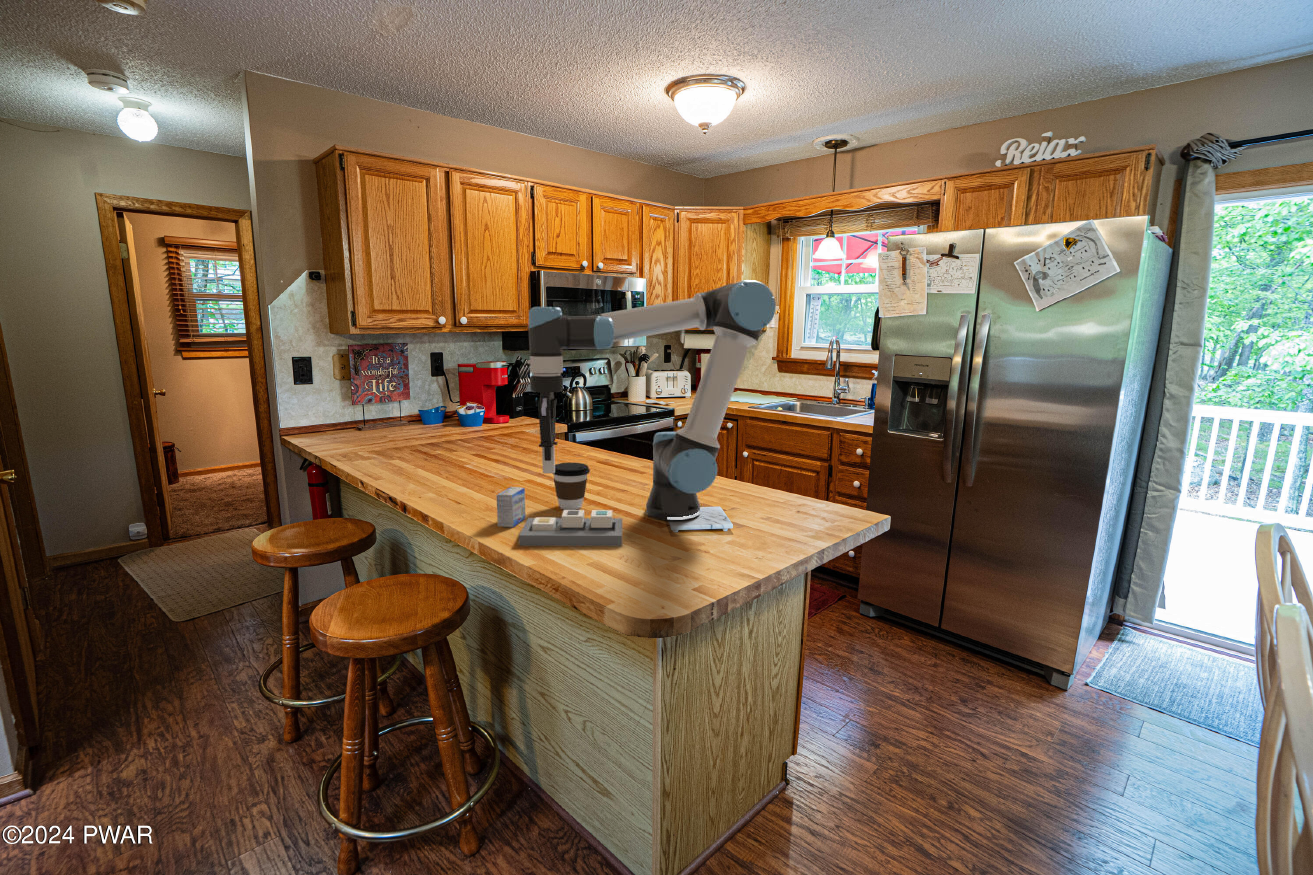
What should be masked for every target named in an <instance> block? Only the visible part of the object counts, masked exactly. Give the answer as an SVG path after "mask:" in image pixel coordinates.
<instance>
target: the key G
mask: <svg viewBox="0 0 1313 875" xmlns="http://www.w3.org/2000/svg"><path fill="white" fill-rule="evenodd" d="M534 518H535V520H534V522H533V524H532V531H555V530H556V518H557V517H550V516H549V517H543V516H541V517H540V516H539V517H534Z"/></svg>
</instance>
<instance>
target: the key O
mask: <svg viewBox="0 0 1313 875" xmlns="http://www.w3.org/2000/svg"><path fill="white" fill-rule="evenodd" d="M590 518H591V528H612V518H613V509H611V510H610V509H592V510H591V514H590Z"/></svg>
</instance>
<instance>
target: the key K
mask: <svg viewBox="0 0 1313 875" xmlns="http://www.w3.org/2000/svg"><path fill="white" fill-rule="evenodd" d="M561 518H562V527H577V528H583V524H584V518H585V510H584V509H577V510H563V511H562V514H561Z"/></svg>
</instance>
